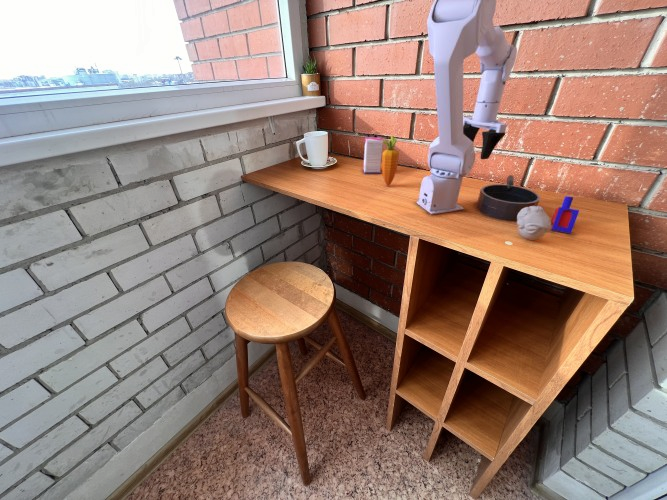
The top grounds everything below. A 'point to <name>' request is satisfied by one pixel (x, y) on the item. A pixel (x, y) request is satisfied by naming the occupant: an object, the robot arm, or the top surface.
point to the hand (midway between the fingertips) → (475, 155)
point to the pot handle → (510, 181)
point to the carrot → (389, 161)
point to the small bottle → (564, 217)
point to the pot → (505, 201)
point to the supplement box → (372, 155)
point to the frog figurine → (533, 222)
